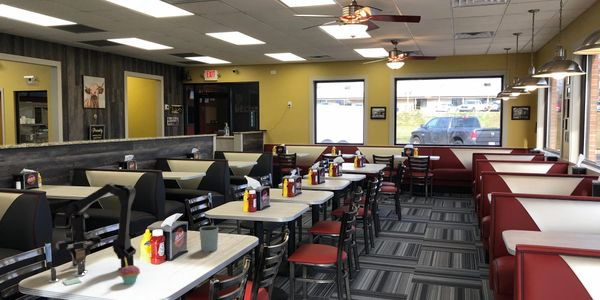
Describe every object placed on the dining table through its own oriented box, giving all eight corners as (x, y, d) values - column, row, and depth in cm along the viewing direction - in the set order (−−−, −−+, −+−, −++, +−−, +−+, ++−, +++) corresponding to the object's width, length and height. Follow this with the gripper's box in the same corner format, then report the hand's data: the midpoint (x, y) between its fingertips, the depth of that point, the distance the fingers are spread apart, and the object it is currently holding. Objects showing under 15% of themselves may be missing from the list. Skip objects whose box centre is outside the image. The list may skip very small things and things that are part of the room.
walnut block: (85, 262, 222) (84, 250, 221) (76, 264, 219) (75, 251, 219) (82, 260, 225) (82, 248, 224) (74, 262, 222) (73, 250, 222)
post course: (90, 274, 215) (90, 261, 214) (50, 283, 204) (49, 270, 203) (78, 265, 229) (77, 253, 229) (39, 273, 218) (38, 260, 217)
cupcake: (128, 287, 198) (126, 259, 197) (115, 283, 202) (114, 256, 201) (144, 280, 205) (143, 254, 204) (131, 277, 210) (130, 251, 209)
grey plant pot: (210, 246, 259) (209, 224, 258) (223, 249, 253) (222, 227, 252) (196, 250, 250) (195, 228, 250) (209, 253, 245) (208, 231, 244)
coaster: (81, 282, 205) (81, 281, 205) (66, 285, 201) (66, 284, 201) (77, 278, 209) (77, 277, 209) (62, 282, 205) (62, 281, 205)
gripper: (93, 221, 233) (94, 252, 234) (51, 227, 221) (53, 260, 222) (100, 225, 225) (102, 257, 226) (58, 232, 212) (60, 265, 213)
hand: (79, 259), depth 222 cm, fingers closed on walnut block, 4 cm apart
